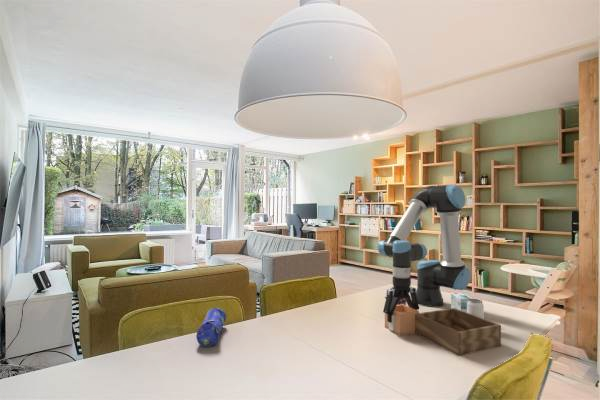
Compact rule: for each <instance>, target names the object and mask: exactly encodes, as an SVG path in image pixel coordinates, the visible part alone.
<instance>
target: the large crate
mask: <svg viewBox="0 0 600 400" xmlns="http://www.w3.org/2000/svg"><path fill="white" fill-rule="evenodd" d="M414 334H416V335H419V336H420V337H421V338H424V339H426V340H428V341H430V342H431V343H433V344H434V345H437V346H439V347H440V348H443V349H444V350H447V351H448V352H451V354H455V355H456V356H458V357H460V356H463V355H464V356H465V355H468V354H471V353H477V352H481V351H485V350H490V349H494V348H498V347H499V348H500V347H502V325H501V324H499V323H496V322H493V321H490V320H488V319H486V318H484V319H483V318H480V317H477V316H475V315H472V314H469V313H466V312H464V311H461V310H458V309H456V308H446V309H445V308H444V309H439V310H438V309H437V310H432V311H426V312H425V311H424V312H419V313H418V314H415V333H414Z"/></svg>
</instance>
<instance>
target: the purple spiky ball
mask: <svg viewBox="0 0 600 400" xmlns="http://www.w3.org/2000/svg"><path fill="white" fill-rule="evenodd" d="M393 287H394V286H391V287H390V289H389V290H393ZM385 294H386V296H384V299H386V297H387V292H386V293H385ZM393 294H394V293H393ZM396 298H397V297H396ZM400 304H404V305H406V306H408V304H407V302H406V300H405V298H402V299H400V300H399V301H398V303H397V305H400Z"/></svg>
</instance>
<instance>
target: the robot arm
mask: <svg viewBox="0 0 600 400" xmlns="http://www.w3.org/2000/svg"><path fill="white" fill-rule="evenodd" d="M465 205H466V195H465V192H464V190H463V188H462V187H461V186H460V185H456V184H441V185H429V186H425V187H424V188H421V189H420V190H419V191H417V192H416V193H415V194H414V195H413V196H412V197H411V199H410V200H409V202H408V207H407V209H406V210H405V212H404V213H403V215H402V216H401V218H400V220H398V222H397V224H396V225H395V227H394V229H393V230H392V231H391V233H390V234H389V236H388V238H387V239H382V240H381V241H379V242H378V245H377V250H378V253H379V255H382V256H385V257H389V258H392V287H393V290H390V289H386V293H387V294H386V295H387V296H385V297H386V298H385V303H384V305H383V306H384V307H383V313H384V314H385V313H386V314H387V321H388V322H389V329H390V330H389V329H388V330H389V331H391V330H392V331H394V315H393V312H394V310H395V308H396V305H397V303H398V301H399V300H400V299H402V298H405V300H406V305H407V306H409V307H411V308H413V309H416V310H418V311H420V305H421V306H425V307H442V306H443V305H444V298H443V295H442V292H441V287H442V288H448V289H451V290H455V291H456V290H457V291H463V290H465V289H467V287H468V285H469V284H470V281H471V280H470V279H471V270H470V269H469V267H466V263H465V262H464V261H463V260H462V252H461V251H462V250H461V238H460V236H461V235H460V224H459V222H460V221H459V213H461V212H462V208H464V207H465ZM432 208H434V209H435V211H436V213H437V214H438V215H439V223H440V224H439V225H440V237H441V239H440V240H441V250H442V260H441V261H440V260H437V259H430V260H424V259H425V258H426V257H427V255H428V250H427V249H428V248H427V246H426V245H424V243H421V242H414V243H412V242H411V241H409V240H407V239H408V237H409V235H410V234H411V232H412V231H413V229H414V227H415V226H416V224H417V223H418V221H419V219H420V217H421V216H422V215H423V214H424V213H426V212H427V211H428V209H432ZM414 261H418V262H417V267H416V270H417V271H416V274H417V275H416V276H417V277H416V278H417V279H416V280H417V285H416V286H417V288H415V287H413V286H412V283H411V282H412V279H411V277H412V273H411V271H412V270H411V269H412V268H411V266H412V265H411V263H412V262H414ZM393 293H394V294H393ZM396 297H397V298H396ZM392 331H391V332H392Z"/></svg>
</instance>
